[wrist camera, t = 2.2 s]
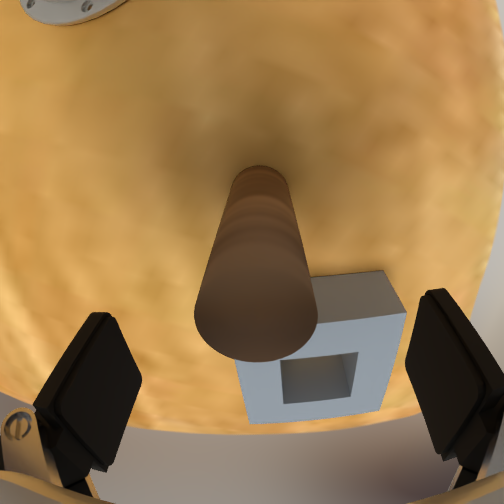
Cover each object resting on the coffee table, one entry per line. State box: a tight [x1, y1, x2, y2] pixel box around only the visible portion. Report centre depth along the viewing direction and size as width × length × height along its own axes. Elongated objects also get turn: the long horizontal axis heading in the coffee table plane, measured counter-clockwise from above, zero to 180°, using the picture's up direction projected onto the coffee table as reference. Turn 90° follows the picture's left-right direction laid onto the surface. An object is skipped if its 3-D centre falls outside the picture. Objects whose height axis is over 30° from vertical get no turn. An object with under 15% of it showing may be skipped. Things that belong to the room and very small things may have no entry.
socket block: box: [234, 271, 407, 424], centre depth 23 cm, size 11×11×5 cm
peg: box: [194, 166, 318, 363], centre depth 14 cm, size 4×4×12 cm
